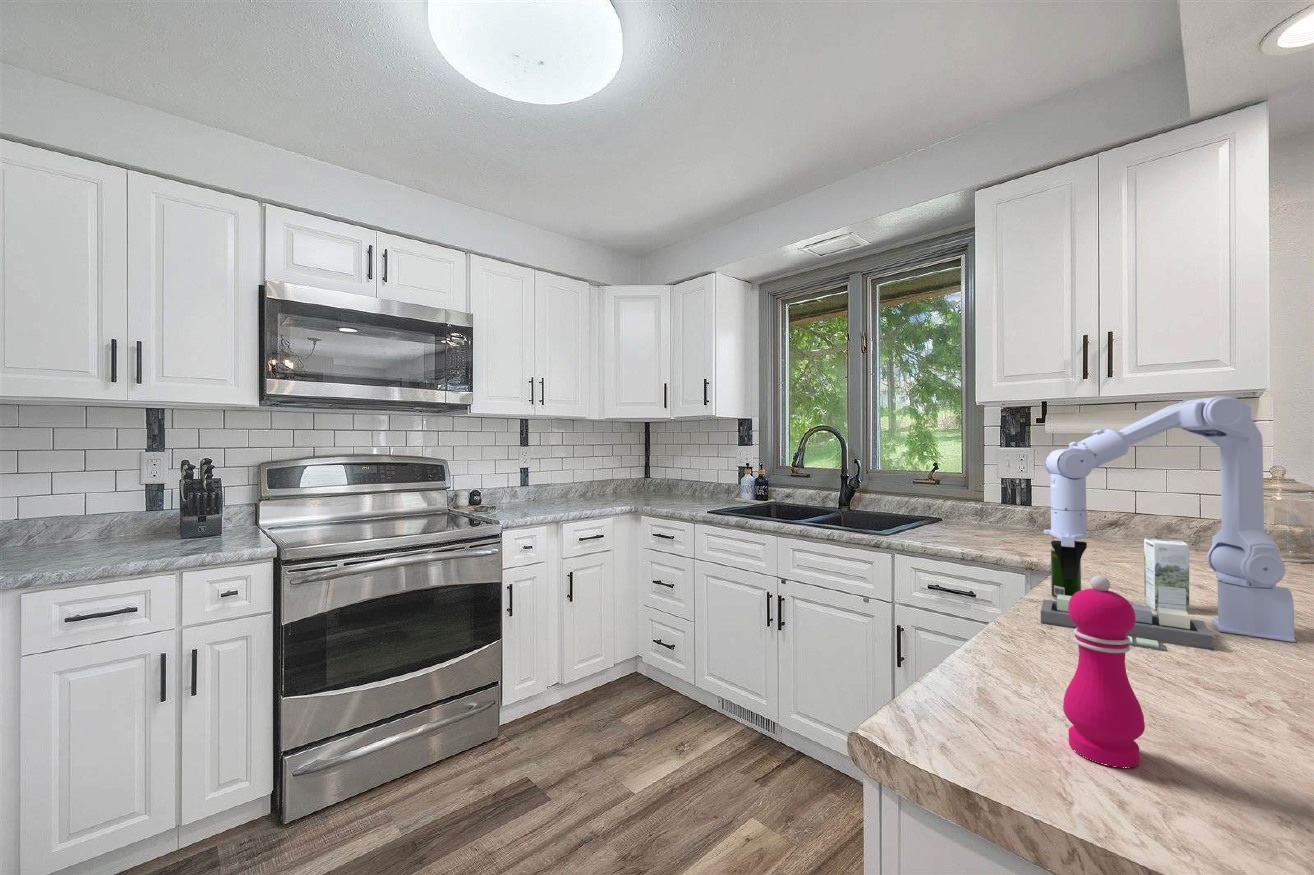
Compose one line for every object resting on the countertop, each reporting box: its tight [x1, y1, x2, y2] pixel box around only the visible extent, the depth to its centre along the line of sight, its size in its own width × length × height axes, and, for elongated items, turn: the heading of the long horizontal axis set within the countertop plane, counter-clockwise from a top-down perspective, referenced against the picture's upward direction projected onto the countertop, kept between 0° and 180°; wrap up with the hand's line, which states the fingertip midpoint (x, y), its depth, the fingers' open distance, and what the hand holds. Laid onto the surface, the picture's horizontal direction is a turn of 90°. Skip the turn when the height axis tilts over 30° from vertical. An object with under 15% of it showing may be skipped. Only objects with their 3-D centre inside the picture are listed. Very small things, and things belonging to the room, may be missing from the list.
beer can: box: [1050, 546, 1082, 601], centre depth 125 cm, size 5×5×12 cm
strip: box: [1128, 636, 1166, 652], centre depth 98 cm, size 11×4×1 cm, turn 52°
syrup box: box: [1143, 538, 1190, 614], centre depth 117 cm, size 6×6×14 cm
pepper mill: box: [1062, 575, 1146, 769], centre depth 63 cm, size 7×7×20 cm
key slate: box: [1130, 603, 1153, 624], centre depth 104 cm, size 4×4×2 cm
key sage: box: [1056, 594, 1072, 611], centre depth 110 cm, size 4×4×2 cm
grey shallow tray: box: [1040, 599, 1214, 651], centre depth 105 cm, size 24×10×2 cm, turn 52°
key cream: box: [1156, 607, 1191, 629], centre depth 100 cm, size 4×4×2 cm
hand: (1069, 578), depth 110 cm, fingers closed
